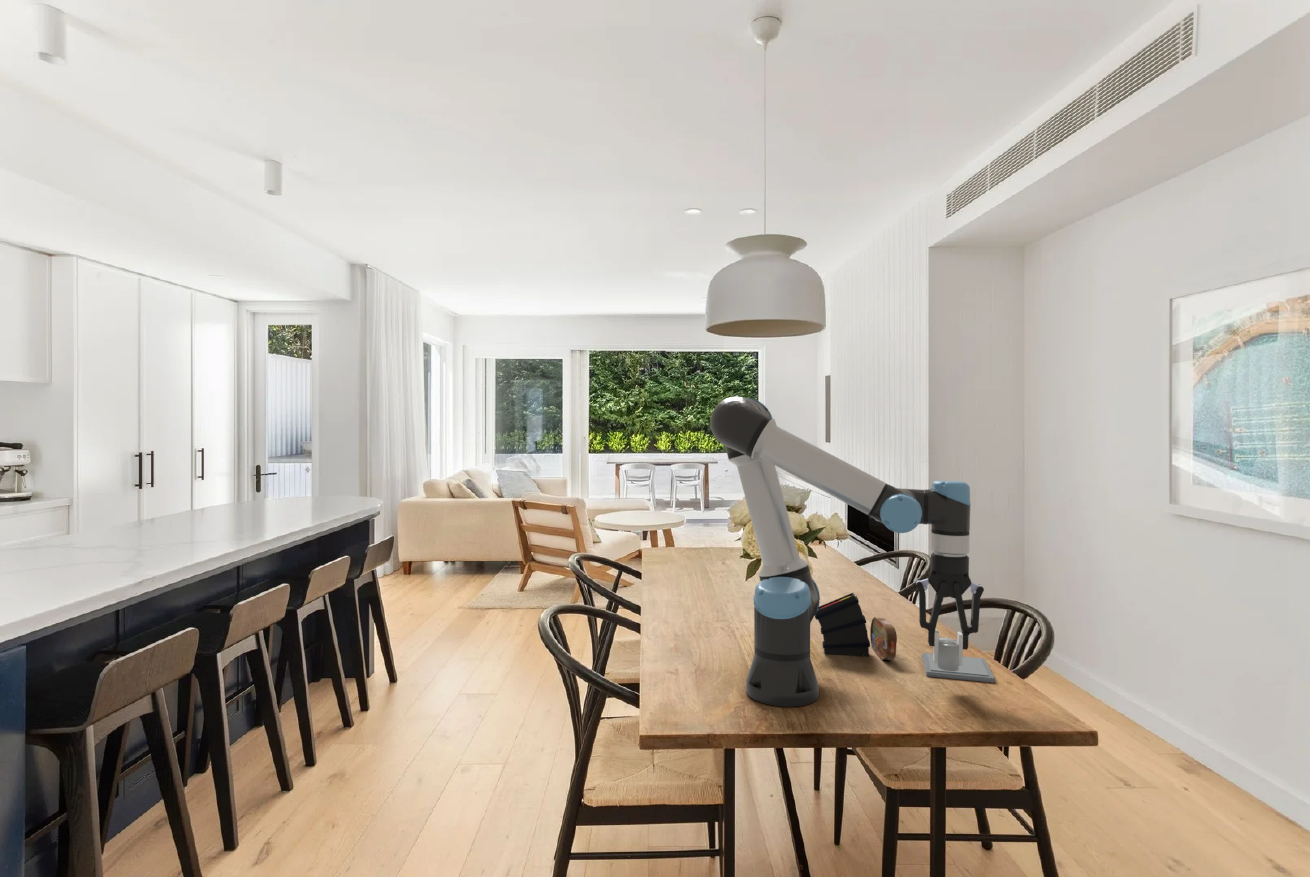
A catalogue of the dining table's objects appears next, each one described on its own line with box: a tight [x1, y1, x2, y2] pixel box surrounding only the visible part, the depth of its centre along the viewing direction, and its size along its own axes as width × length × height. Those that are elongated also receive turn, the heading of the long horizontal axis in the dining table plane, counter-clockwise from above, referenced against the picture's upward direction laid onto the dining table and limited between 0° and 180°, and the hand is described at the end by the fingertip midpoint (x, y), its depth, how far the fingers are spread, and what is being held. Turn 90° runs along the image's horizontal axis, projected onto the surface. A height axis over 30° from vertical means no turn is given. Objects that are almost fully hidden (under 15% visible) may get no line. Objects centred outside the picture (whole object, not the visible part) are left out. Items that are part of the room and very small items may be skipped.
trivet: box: [921, 652, 996, 684], centre depth 159 cm, size 14×14×1 cm
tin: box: [869, 616, 898, 661], centre depth 170 cm, size 15×3×8 cm, turn 177°
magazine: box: [814, 592, 871, 657], centre depth 171 cm, size 4×13×15 cm, turn 78°
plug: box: [937, 637, 959, 671], centre depth 147 cm, size 4×9×5 cm, turn 163°
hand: (947, 662), depth 146 cm, fingers closed on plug, 4 cm apart
